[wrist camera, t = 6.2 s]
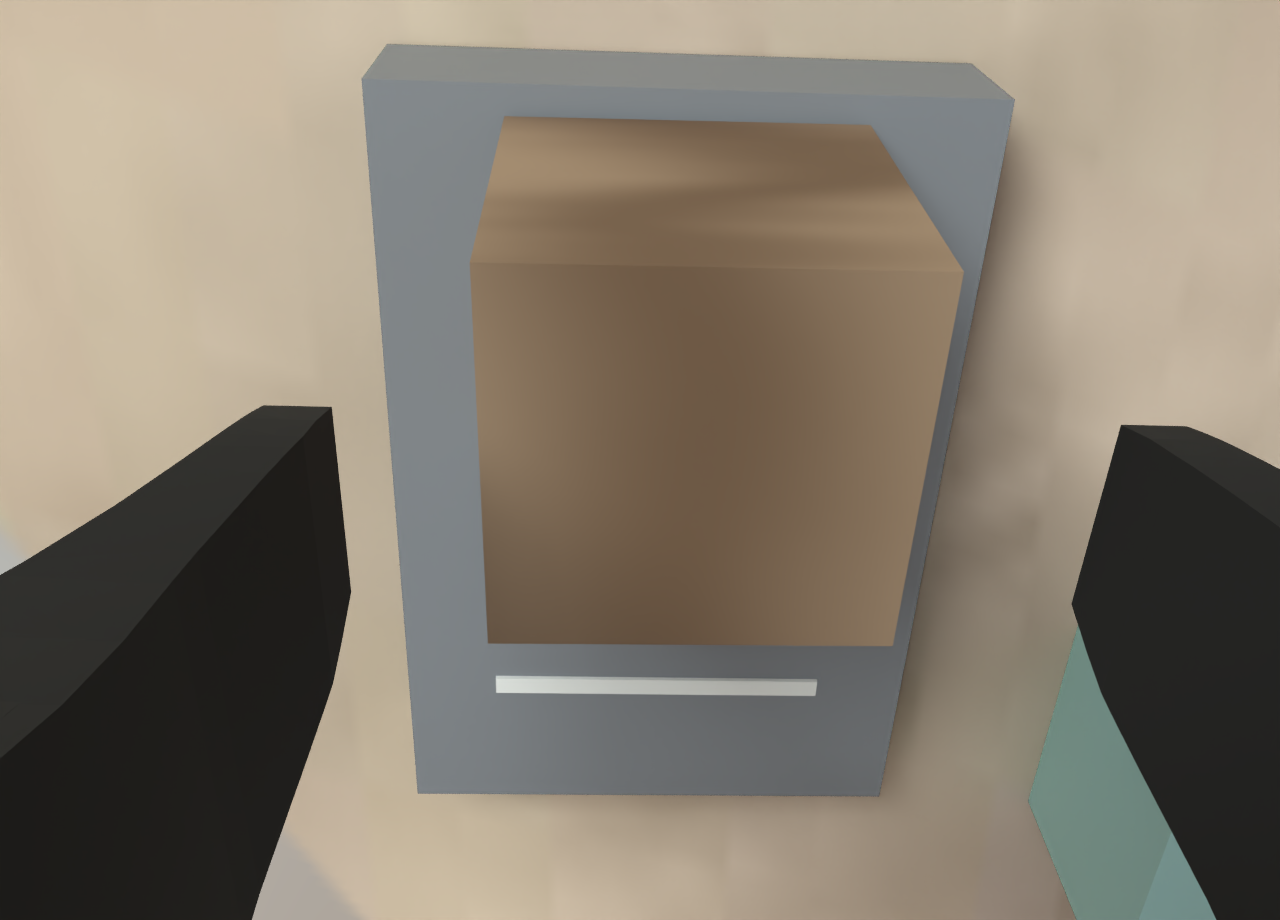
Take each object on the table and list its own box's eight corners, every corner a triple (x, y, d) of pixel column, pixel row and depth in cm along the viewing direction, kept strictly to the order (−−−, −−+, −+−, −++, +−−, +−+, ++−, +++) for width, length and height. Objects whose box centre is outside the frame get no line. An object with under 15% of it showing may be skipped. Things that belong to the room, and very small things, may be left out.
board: (971, 63, 16) (1016, 101, 15) (857, 717, 23) (879, 799, 21) (386, 44, 16) (360, 80, 14) (431, 713, 22) (416, 796, 20)
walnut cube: (870, 125, 15) (963, 271, 11) (828, 436, 17) (891, 646, 13) (503, 116, 15) (468, 262, 11) (513, 432, 17) (488, 644, 13)
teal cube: (1318, 623, 22) (1472, 810, 18) (1245, 799, 24) (1368, 998, 20) (1077, 620, 22) (1180, 808, 18) (1027, 798, 24) (1108, 999, 20)
